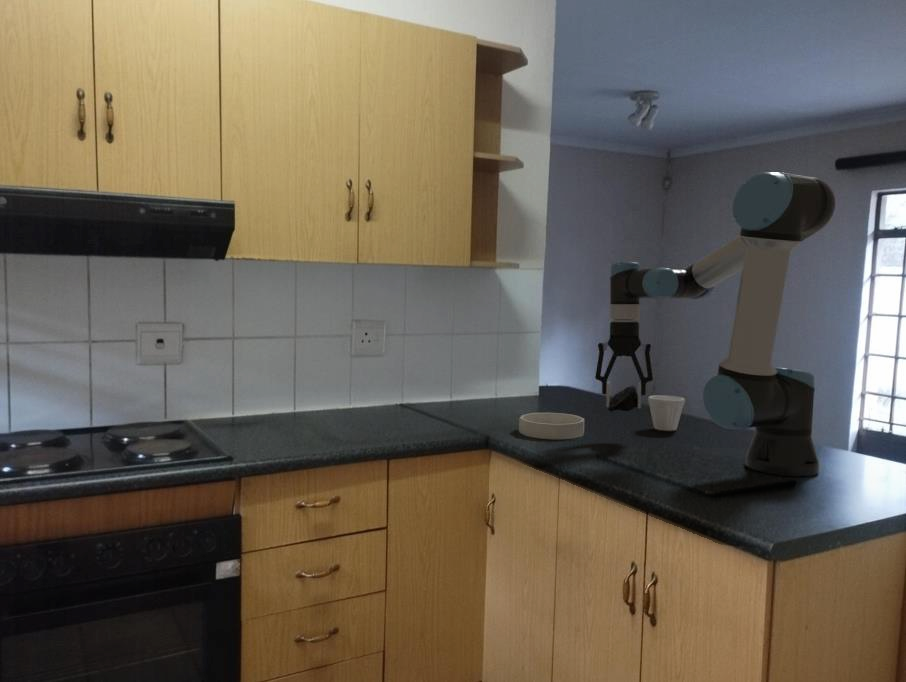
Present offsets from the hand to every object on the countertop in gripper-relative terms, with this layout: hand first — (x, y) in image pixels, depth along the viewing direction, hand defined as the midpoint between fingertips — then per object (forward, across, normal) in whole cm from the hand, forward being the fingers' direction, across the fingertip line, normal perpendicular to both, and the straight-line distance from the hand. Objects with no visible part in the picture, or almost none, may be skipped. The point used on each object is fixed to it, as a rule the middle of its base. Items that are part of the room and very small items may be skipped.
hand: (623, 406), depth 189 cm
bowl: (+9, +20, -5) cm, 22 cm away
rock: (+1, 0, +2) cm, 2 cm away
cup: (+9, -11, -19) cm, 24 cm away
